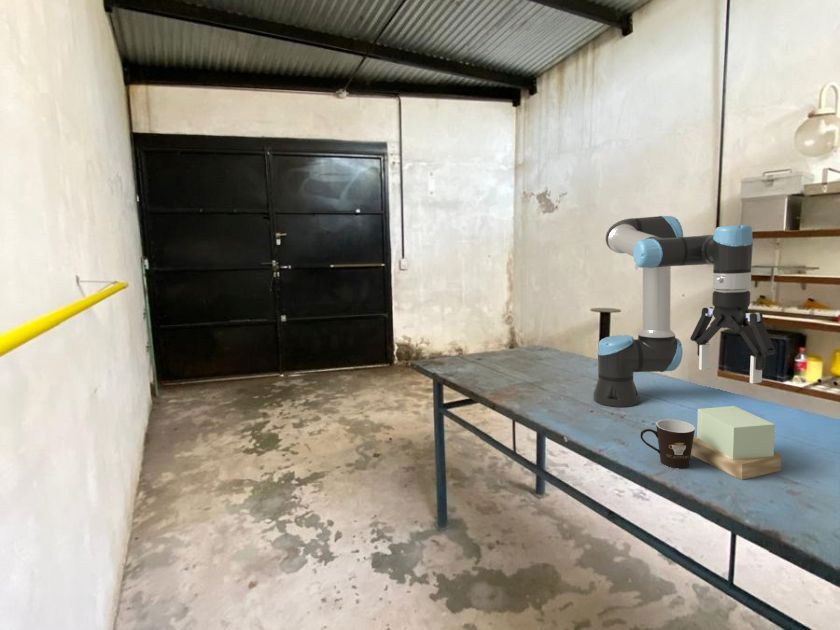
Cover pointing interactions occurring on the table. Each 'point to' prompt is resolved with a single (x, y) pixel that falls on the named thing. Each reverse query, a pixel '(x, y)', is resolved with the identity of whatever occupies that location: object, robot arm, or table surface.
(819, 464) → the table surface
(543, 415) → the table surface
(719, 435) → the sage brick
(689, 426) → the coffee mug
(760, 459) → the oak block
